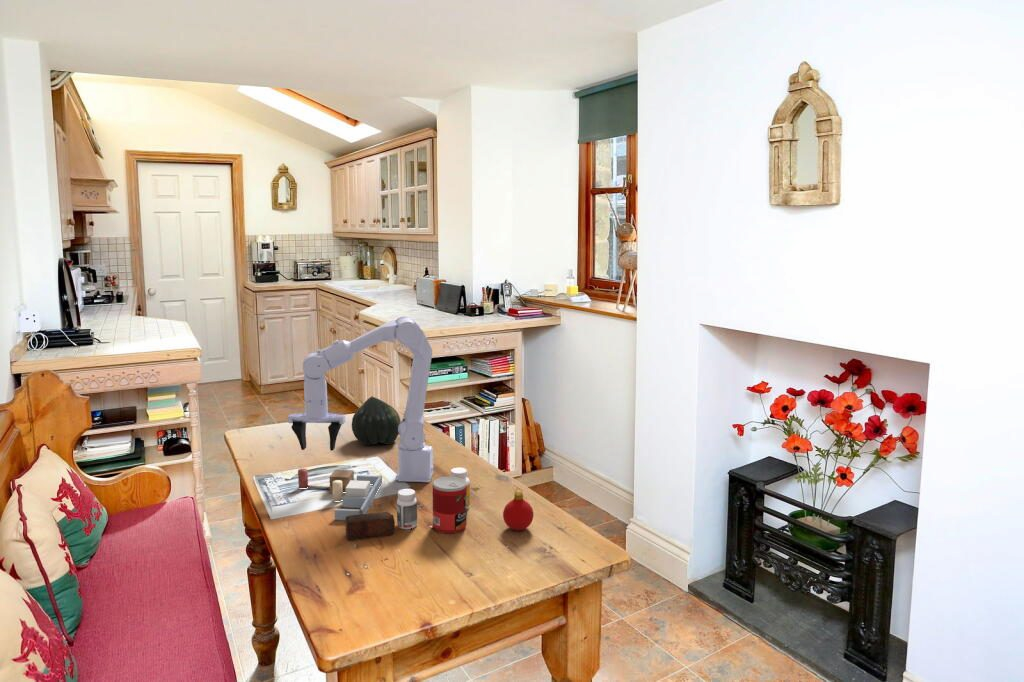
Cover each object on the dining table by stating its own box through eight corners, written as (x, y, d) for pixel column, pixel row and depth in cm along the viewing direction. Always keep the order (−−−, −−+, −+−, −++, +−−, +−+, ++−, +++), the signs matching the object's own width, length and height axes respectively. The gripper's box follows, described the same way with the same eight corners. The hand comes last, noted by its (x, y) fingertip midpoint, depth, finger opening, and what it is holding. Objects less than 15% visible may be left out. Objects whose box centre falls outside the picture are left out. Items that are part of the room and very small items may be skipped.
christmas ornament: (529, 521, 171) (530, 481, 170) (535, 534, 165) (536, 493, 163) (500, 523, 170) (501, 483, 168) (505, 536, 163) (506, 495, 161)
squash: (394, 436, 215) (398, 391, 222) (344, 436, 215) (350, 392, 223) (401, 453, 227) (405, 410, 235) (354, 454, 227) (359, 411, 235)
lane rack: (382, 484, 192) (381, 475, 191) (362, 520, 170) (362, 510, 170) (357, 483, 192) (357, 475, 192) (334, 519, 170) (334, 510, 170)
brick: (347, 542, 160) (347, 522, 159) (345, 534, 163) (345, 515, 162) (395, 535, 163) (395, 516, 162) (391, 528, 167) (391, 509, 166)
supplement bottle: (458, 513, 175) (458, 476, 173) (443, 507, 178) (443, 470, 177) (474, 507, 179) (474, 470, 177) (459, 500, 182) (459, 464, 180)
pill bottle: (420, 522, 170) (420, 489, 168) (411, 531, 165) (411, 497, 164) (402, 519, 171) (402, 486, 169) (393, 527, 167) (392, 494, 165)
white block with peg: (370, 497, 183) (369, 479, 183) (365, 505, 179) (365, 486, 178) (335, 496, 184) (335, 477, 183) (330, 504, 179) (329, 485, 178)
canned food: (461, 535, 163) (462, 490, 161) (428, 532, 165) (428, 487, 163) (470, 521, 171) (470, 477, 169) (438, 518, 172) (438, 474, 170)
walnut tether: (354, 486, 191) (353, 468, 190) (349, 493, 186) (348, 475, 185) (302, 484, 191) (301, 466, 190) (295, 491, 186) (295, 473, 185)
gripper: (283, 403, 183) (285, 453, 186) (339, 404, 183) (341, 454, 185) (292, 395, 190) (294, 444, 193) (346, 396, 190) (348, 445, 192)
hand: (318, 449), depth 189 cm, fingers open, 7 cm apart
